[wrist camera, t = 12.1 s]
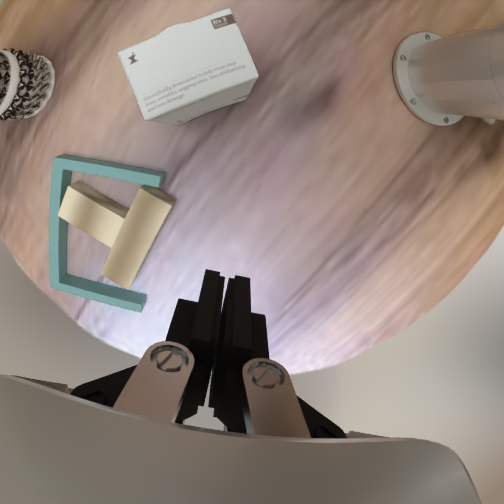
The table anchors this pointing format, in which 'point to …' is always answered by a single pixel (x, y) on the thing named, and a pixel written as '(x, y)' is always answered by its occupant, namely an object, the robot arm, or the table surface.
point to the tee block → (118, 225)
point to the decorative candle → (24, 84)
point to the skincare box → (190, 69)
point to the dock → (58, 226)
